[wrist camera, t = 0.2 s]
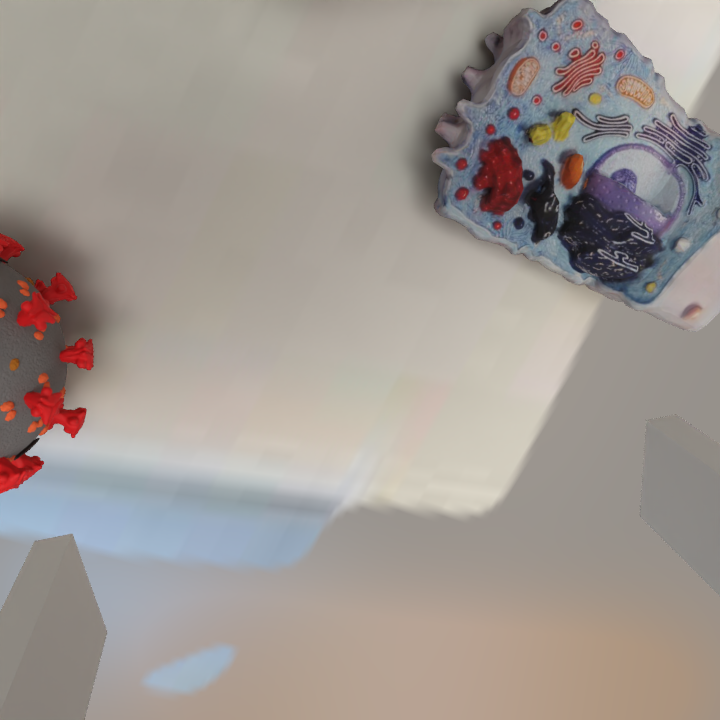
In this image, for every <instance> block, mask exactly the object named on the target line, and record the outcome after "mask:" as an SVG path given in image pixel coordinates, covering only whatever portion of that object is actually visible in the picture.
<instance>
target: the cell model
mask: <svg viewBox="0 0 720 720" xmlns="http://www.w3.org/2000/svg"><path fill="white" fill-rule="evenodd" d="M485 42H486V45H487V47H488V48H489V49H490V51H491V52H492V53H493V55H494V61H495V63H494V64H493V65H492V66H491V67H490V68H488V69H486V70H484V71H482V70H477V69H475V68H472V67H469V66H468V67H467V68H466V70H465V71H464V72H463V74H462V75H461V77H462V80H463V82H464V83H465V84H466V85H467V86H468V88H469V89H470V92H471V94H472V96H471V101H468V100H465V99H462V100H460V101H459V102H458V103H457V106H456V109H455V110H456V111H457V113H458V115H459V116H454V115H451V114H447V113H444V114H443V115H442V116H441V118H440V119H439V123H438V124H437V126H436V128H435V131H436V132H437V133H438V134H439V135H440V136H441V137H442V138H443V139H444V140H445V141H446V142H447V143H448V144H449V146H450V147H442V148H437V149H436V150H435V151H434V152H433V153H432V154H431V156H432V160H433V162H434V163H436V164H437V165H438V166H440V167H442V168H443V170H442V172H441V174H440V178H439V182H438V198H437V200H436V202H435V203H434V208H435V210H436V212H437V213H438V214H439V215H440V216H443V217H447V218H450V219H453V220H455V221H456V222H458V223H460V224H462V225H463V226H465V227H466V228H467V230H468V231H469V232H470V233H471V234H472V235H473V236H474V237H475V238H477V239H479V240H484V241H488V242H492V243H496V244H499V245H502V246H504V247H505V248H506V249H507V250H509V251H510V253H511V254H514V255H516V254H520V253H521V254H523V255H524V256H525V257H526V258H527V259H529V260H531V261H538V262H539V263H540V264H542V265H543V266H544V267H545V268H547V269H549V270H551V271H553V272H555V273H557V274H560V275H562V276H563V277H564V278H565V279H566V280H567V281H569V282H571V283H574V284H577V285H582V284H585V285H586V286H587V287H588V288H589V289H591V290H593V291H596V292H598V293H600V294H603V295H604V296H606V297H607V298H609V299H612V300H615V301H619V302H624V304H626V306H628V307H630V308H632V309H634V310H636V311H643V312H646V313H648V314H650V315H652V316H654V317H655V318H657V319H659V320H662V321H664V322H666V323H668V324H671V325H673V326H676V327H678V328H680V329H683V330H687V331H693V332H696V331H698V330H700V329H701V328H703V327H705V326H706V325H707V324H708V323H709V322H710V321H711V320H712V319H713V318H714V317H715V316H716V315H717V314H718V313H719V312H720V134H718V133H717V132H715V131H713V130H711V129H710V128H708V127H707V126H706V125H705V123H704V122H703V121H701V120H699V119H697V118H688V117H687V115H686V112H685V110H684V109H683V108H682V107H681V106H680V105H679V104H678V103H676V102H675V101H674V100H673V98H672V97H671V96H670V95H669V94H668V92H667V90H666V88H665V80H664V77H663V76H661V75H660V74H659V73H655V72H654V67H653V63H652V60H651V59H649V58H646V57H644V56H642V55H641V54H640V52H639V51H638V50H637V49H636V47H635V46H634V45H633V44H632V42H631V41H630V40H629V39H628V37H627V36H626V35H625V34H622V33H618V32H616V31H615V30H613V29H612V28H610V26H609V23H608V20H607V19H605V18H604V17H603V16H601V15H600V14H599V13H597V11H596V9H595V7H594V5H593V3H592V2H590V1H589V0H558V1H557V2H555V3H554V4H553V5H552V6H551V7H548V8H546V9H544V10H542V11H540V12H538V11H536V10H535V9H532V8H526V9H522V10H521V12H520V13H519V14H518V15H516V16H515V17H514V18H512V20H511V21H510V22H509V24H508V25H507V26H506V27H505V29H504V34H503V37H501V36H499V35H498V34H496V33H494V32H493V33H491V34H489V35H487V37H486V38H485Z"/></svg>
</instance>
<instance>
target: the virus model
mask: <svg viewBox="0 0 720 720" xmlns="http://www.w3.org/2000/svg"><path fill="white" fill-rule="evenodd" d="M24 250H25V249H24V247H22V245H21V244H19V243H18V242H17V241H15V240H13V239H12V238H10V237H8V236H5V235H3V234H1V233H0V493H3V492H5V491H8V490H9V489H13V488H18V487H19V485H20V484H23V482H24V481H25V480H27V479H29V477H31V476H32V475H34V474H35V473H36V472H37V471H38V470H40V469H42V465H43V464H44V462H43V461H40V458H39V457H38V456H33V457H29V456H27V455H26V454H25V453H26V452H27V451H28V450H30V449H31V447H33V446H34V445H35V444H36V443H37V442H38V440H39V438H37V439H35V438H36V437H37V436H38V435H43V434H45V433H46V432H47V430H50V429H52V428H53V425H54V424H58V423H59V424H61V425H63V426H64V431H65V432H66V433H69V434H70V433H71V437H72V438H75V435H76V434H77V433H78V431H79V429H80V428H81V427H82V425H83V423H84V419H85V416H86V408H77V409H75V410H66V409H62V408H63V406H64V405H63V402H64V398H63V397H64V394H65V392H66V390H65V388H64V386H65V380H66V373H67V363H73V364H77V366H78V367H79V368H84V369H85V368H86V369H87V370H91V367H93V366H94V365H93V358H94V355H93V352H94V351H93V343H92V339H89V340H88V341H87V342H86V340H85V339H84V338H80V339H79V340H78V341H77V342H76V343H75V345H74V346H67V345H65V341H64V336H63V333H62V330H61V327H60V325H59V322H60V316H59V315H58V314H57V313H56V312H55V311H53V310H52V309H51V307H50V304H52V305H53V304H54V302H56V301H60V300H64V299H65V300H66V301H72V300H76V299H77V296H76V295H75V292H74V290H73V286H72V285H71V284H70V283H69V281H67V279H66V278H65V277H64V276H63V275H61V273H56V277H53V278H52V279H51V280H50V281H51V286H49V287H48V288H47V287H46V286H45V284H44V283H43V281H40V280H39V279H37V280H36V284H35V286H34V283H33V281H32V280H31V279H30V278H26V277H23V276H22V275H21V274H20V273H18V272H17V271H15V270H14V269H13V268H11V267H10V266H8V265H6V264H5V263H8V262H7V261H8V259H9V258H10V257H12V256H13V257H19V256H20V254H21V252H20V251H24ZM34 439H35V440H34Z"/></svg>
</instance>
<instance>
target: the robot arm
mask: <svg viewBox="0 0 720 720" xmlns="http://www.w3.org/2000/svg"><path fill="white" fill-rule="evenodd" d="M645 433H646V434H645V448H644V462H643V477H642V490H641V505H640V517H641V518H642V519H643V520H644V521H645V522H646V523H647V524H648V525H649V526H650V527H651V528H652V529H653V530H654V531H655V532H656V533H657V534H658V535H659V536H660V537H661V538H662V539H663V540H664V541H665V542H666V543H667V544H668V545H669V546H670V547H671V548H672V549H673V550H674V551H675V552H676V553H677V554H678V555H679V556H680V557H681V558H682V559H683V560H684V561H685V562H686V563H687V564H688V565H689V566H690V567H691V568H692V569H693V570H694V571H695V572H696V573H697V574H698V575H699V576H700V577H701V578H702V579H703V580H704V581H705V582H706V583H707V584H708V585H709V586H710V587H711V588H712V589H713V590H714V591H715V592H716V593H717V594H718V595H719V596H720V444H719V443H717V442H716V441H714V440H713V439H711V438H710V437H708V436H707V435H706V434H704V433H703V432H701V431H700V430H698V429H697V428H695V427H694V426H692V425H691V424H689V423H688V422H687V421H685V420H684V419H682V418H681V417H679V416H678V415H676V414H675V415H671V416H665V417H660V418H655V419H650V420H646V432H645ZM106 635H107V630H106V627H105V624H104V621H103V618H102V616H101V613H100V610H99V607H98V604H97V602H96V599H95V596H94V593H93V590H92V587H91V585H90V582H89V579H88V576H87V573H86V571H85V568H84V565H83V562H82V559H81V556H80V554H79V551H78V548H77V545H76V542H75V540H74V537H73V534H68V535H63V536H58V537H53V538H48V539H43V540H38V541H34V543H33V545H32V548H31V550H30V552H29V554H28V556H27V558H26V560H25V562H24V564H23V566H22V568H21V570H20V572H19V574H18V576H17V578H16V580H15V582H14V585H13V587H12V589H11V591H10V593H9V595H8V597H7V599H6V601H5V603H4V605H3V607H2V609H1V611H0V720H85V716H86V712H87V709H88V705H89V701H90V697H91V693H92V689H93V685H94V682H95V677H96V673H97V670H98V666H99V662H100V658H101V655H102V650H103V647H104V643H105V639H106Z"/></svg>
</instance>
